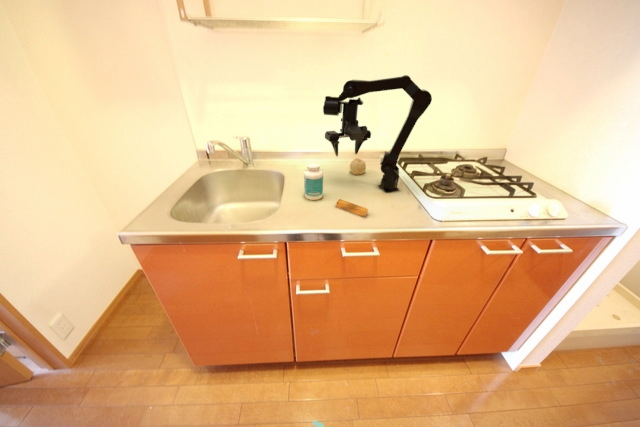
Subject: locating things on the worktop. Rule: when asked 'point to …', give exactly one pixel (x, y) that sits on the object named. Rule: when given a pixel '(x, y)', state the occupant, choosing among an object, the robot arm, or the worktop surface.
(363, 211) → the fry stick
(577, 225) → the worktop surface
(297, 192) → the worktop surface
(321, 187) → the pill bottle
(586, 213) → the worktop surface
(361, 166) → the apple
